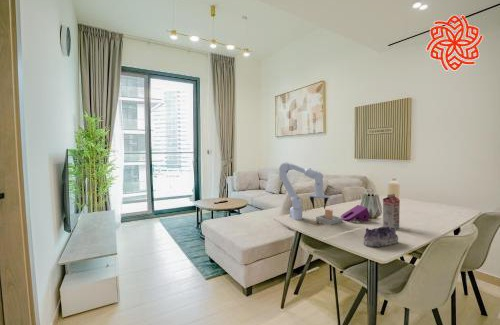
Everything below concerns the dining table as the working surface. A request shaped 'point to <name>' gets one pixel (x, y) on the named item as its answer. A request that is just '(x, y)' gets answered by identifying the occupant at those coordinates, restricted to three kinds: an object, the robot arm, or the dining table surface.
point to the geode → (380, 237)
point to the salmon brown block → (329, 214)
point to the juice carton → (391, 211)
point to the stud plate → (317, 223)
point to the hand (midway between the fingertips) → (319, 207)
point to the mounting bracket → (356, 214)
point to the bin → (335, 220)
